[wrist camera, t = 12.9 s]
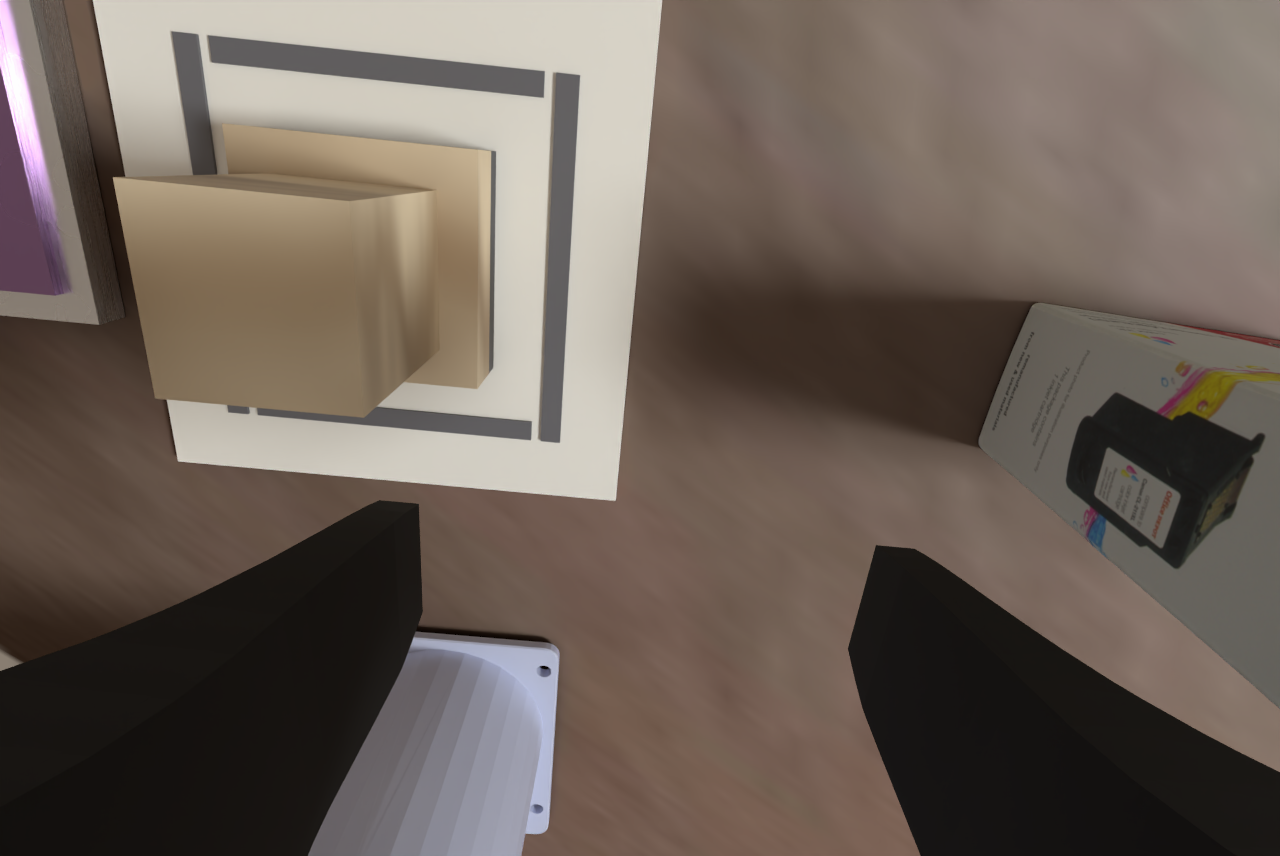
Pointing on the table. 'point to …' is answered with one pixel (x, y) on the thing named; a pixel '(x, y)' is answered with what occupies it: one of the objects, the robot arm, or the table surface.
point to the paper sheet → (447, 116)
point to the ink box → (1157, 463)
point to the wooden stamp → (315, 271)
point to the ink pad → (49, 178)
